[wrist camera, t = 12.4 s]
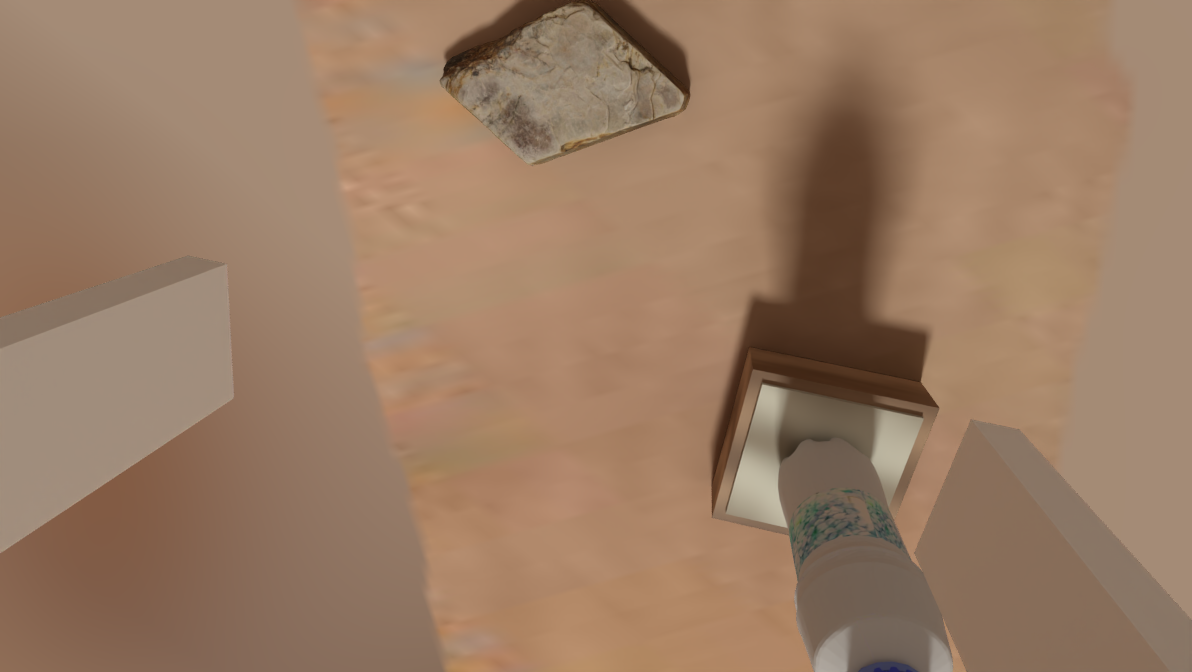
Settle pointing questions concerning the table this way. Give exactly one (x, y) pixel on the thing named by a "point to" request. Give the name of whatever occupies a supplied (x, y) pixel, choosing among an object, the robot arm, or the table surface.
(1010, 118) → the table surface
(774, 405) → the picture frame
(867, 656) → the bottle
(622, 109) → the stone
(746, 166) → the table surface
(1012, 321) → the table surface
